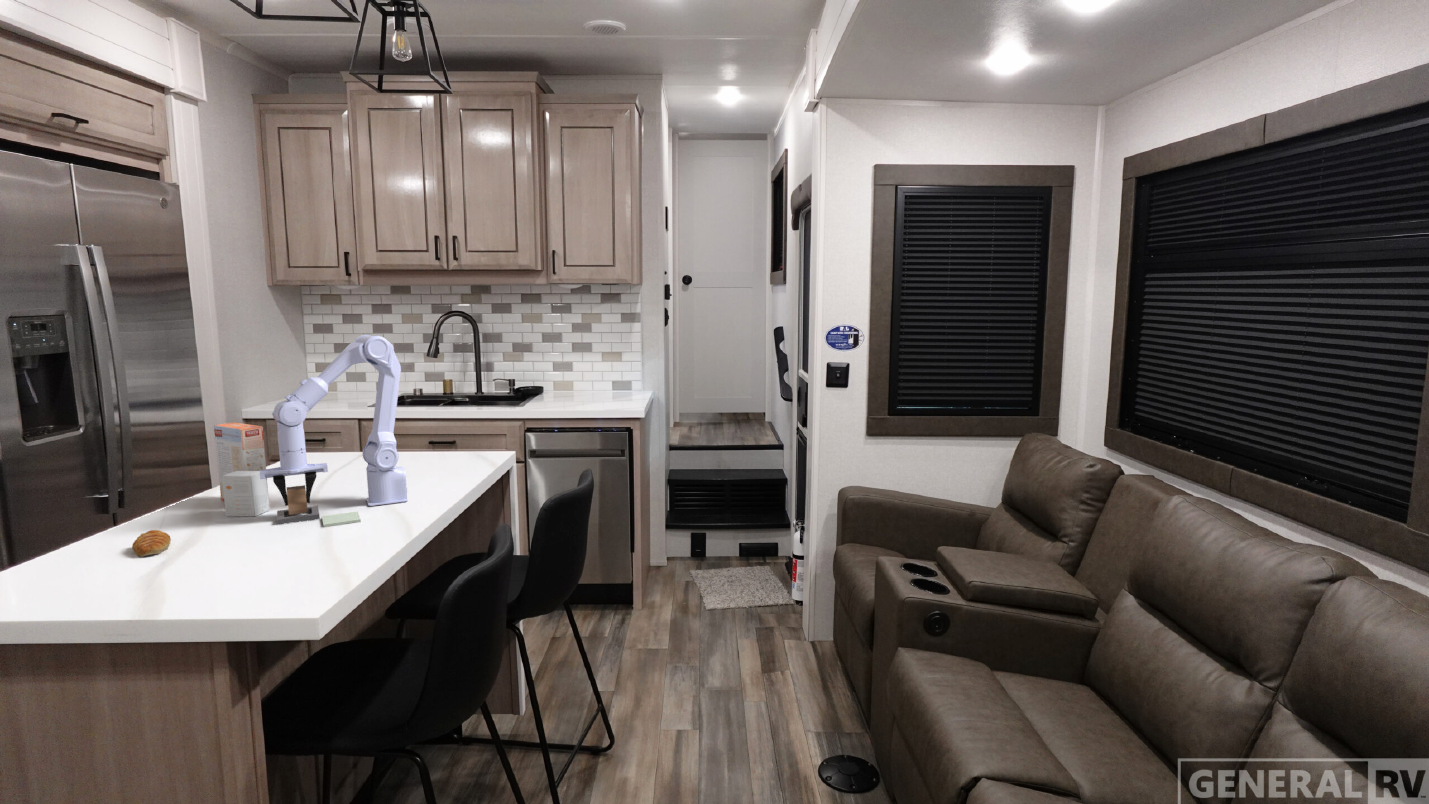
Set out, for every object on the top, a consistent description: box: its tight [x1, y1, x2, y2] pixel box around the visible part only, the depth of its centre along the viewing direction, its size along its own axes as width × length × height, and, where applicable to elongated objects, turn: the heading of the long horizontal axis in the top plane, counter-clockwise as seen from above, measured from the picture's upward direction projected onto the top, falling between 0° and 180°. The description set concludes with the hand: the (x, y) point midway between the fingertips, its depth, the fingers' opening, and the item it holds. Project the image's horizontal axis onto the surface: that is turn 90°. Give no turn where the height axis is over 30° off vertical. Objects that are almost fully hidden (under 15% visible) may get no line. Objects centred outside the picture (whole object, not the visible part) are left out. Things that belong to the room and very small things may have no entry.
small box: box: [221, 471, 271, 517], centre depth 188 cm, size 8×6×10 cm
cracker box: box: [213, 422, 269, 502], centre depth 198 cm, size 14×6×21 cm, turn 58°
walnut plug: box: [286, 484, 308, 516], centre depth 185 cm, size 4×4×6 cm
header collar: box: [276, 505, 320, 525], centre depth 185 cm, size 9×9×1 cm
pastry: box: [131, 529, 172, 558], centre depth 161 cm, size 9×7×4 cm
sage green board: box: [321, 511, 362, 528], centre depth 182 cm, size 8×8×1 cm
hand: (297, 503), depth 185 cm, fingers closed on walnut plug, 4 cm apart
